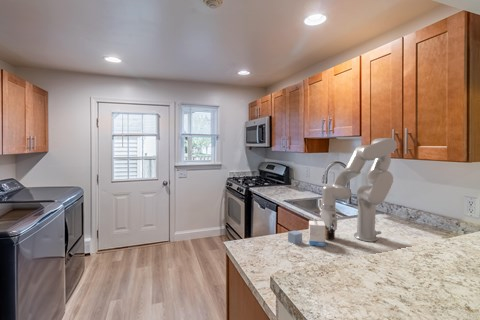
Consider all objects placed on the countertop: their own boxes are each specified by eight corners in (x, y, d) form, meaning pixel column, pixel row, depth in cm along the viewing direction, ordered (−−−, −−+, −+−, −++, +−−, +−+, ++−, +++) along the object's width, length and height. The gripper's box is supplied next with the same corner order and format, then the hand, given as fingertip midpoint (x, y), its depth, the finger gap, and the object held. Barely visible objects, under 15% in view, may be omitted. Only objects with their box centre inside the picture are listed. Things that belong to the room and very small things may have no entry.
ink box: (325, 246, 135) (326, 222, 134) (309, 245, 137) (309, 221, 136) (323, 240, 144) (323, 218, 143) (308, 239, 145) (308, 217, 145)
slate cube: (295, 239, 146) (295, 230, 145) (301, 242, 141) (302, 233, 141) (287, 241, 143) (288, 231, 143) (294, 244, 138) (294, 234, 138)
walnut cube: (328, 235, 152) (329, 226, 152) (334, 239, 147) (334, 230, 146) (320, 236, 150) (321, 227, 150) (326, 240, 145) (326, 230, 145)
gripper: (343, 210, 140) (342, 241, 141) (325, 203, 157) (324, 231, 158) (331, 211, 138) (330, 243, 139) (315, 203, 155) (314, 232, 156)
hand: (327, 236), depth 148 cm, fingers closed on walnut cube, 5 cm apart
